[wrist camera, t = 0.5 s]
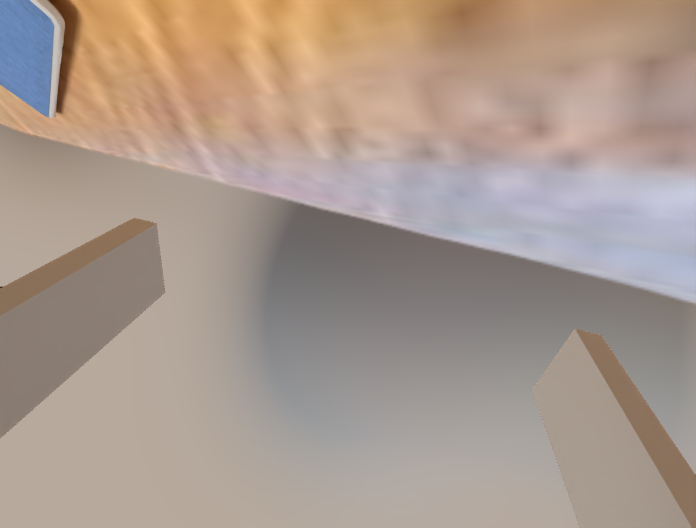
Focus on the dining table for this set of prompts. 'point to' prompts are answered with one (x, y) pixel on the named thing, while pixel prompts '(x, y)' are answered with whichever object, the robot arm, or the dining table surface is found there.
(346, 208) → the dining table surface
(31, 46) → the tablet computer
